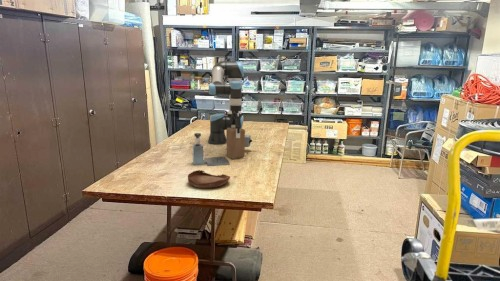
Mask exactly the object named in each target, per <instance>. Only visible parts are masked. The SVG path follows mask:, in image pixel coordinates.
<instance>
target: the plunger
mask: <svg viewBox="0 0 500 281" xmlns="http://www.w3.org/2000/svg"><path fill="white" fill-rule="evenodd" d="M201 136H202V134H201V133H200V132H195V133H194V137H195V144H196V146H200V144H201V143H200V141H201V139H200V137H201Z"/></svg>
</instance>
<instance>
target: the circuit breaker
mask: <svg viewBox="0 0 500 281" xmlns="http://www.w3.org/2000/svg"><path fill="white" fill-rule="evenodd" d="M252 142H253V140H252V139H251V134H245V148H249V147H250V146H251V143H252Z"/></svg>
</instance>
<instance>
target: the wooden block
mask: <svg viewBox="0 0 500 281" xmlns="http://www.w3.org/2000/svg"><path fill="white" fill-rule="evenodd" d="M225 132H226V133H225V136H226V143H225V144H226V145H225V146H226V151H225V152H226V154H225V155H226V157H228V158H230V159H231V160H235V159H236V160H237V159H243V158H245V155H246V154H245V149H246V147H245V135H246V130H245V128H243V127H242V128H240V138H236V127H234V128H227V129H226V130H225Z"/></svg>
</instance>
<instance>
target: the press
mask: <svg viewBox="0 0 500 281" xmlns="http://www.w3.org/2000/svg"><path fill="white" fill-rule="evenodd" d="M226 157H227V156H214V157H204V145H203V143H200V146H196V143H195V144H192V164H193V166H199V165H201V166H202V165H206V166H207V167H211V166H229V165H230V161H229V160H228V159H227V158H226Z"/></svg>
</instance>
